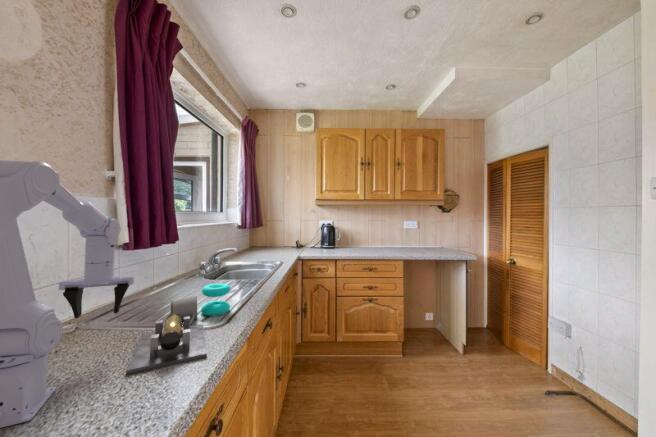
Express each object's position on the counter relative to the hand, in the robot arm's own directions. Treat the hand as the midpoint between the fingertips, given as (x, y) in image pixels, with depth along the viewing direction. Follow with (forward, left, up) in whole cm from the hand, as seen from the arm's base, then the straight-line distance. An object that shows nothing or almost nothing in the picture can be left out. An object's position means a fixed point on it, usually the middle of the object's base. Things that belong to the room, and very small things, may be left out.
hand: (97, 314), depth 65 cm
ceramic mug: (+13, -20, -10) cm, 26 cm away
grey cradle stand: (-6, -17, -9) cm, 20 cm away
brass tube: (-6, -17, -7) cm, 19 cm away
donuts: (+18, -30, -10) cm, 36 cm away
